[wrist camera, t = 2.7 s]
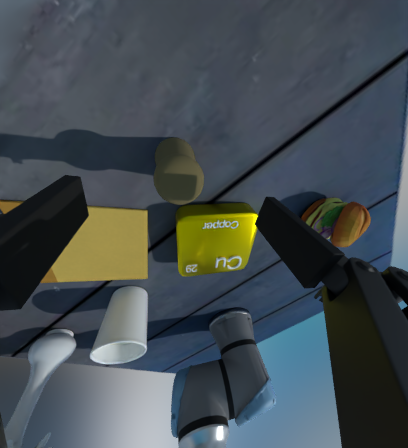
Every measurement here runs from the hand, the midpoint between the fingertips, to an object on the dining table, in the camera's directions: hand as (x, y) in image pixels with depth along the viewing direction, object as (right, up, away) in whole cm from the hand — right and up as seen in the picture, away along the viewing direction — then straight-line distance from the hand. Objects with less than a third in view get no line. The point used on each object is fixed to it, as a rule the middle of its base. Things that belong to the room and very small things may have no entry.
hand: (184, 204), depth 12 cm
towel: (-20, -6, +18) cm, 27 cm away
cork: (-3, +8, +13) cm, 15 cm away
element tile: (+3, -4, +22) cm, 23 cm away
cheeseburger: (+28, +1, +25) cm, 37 cm away
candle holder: (-17, -19, +28) cm, 38 cm away
